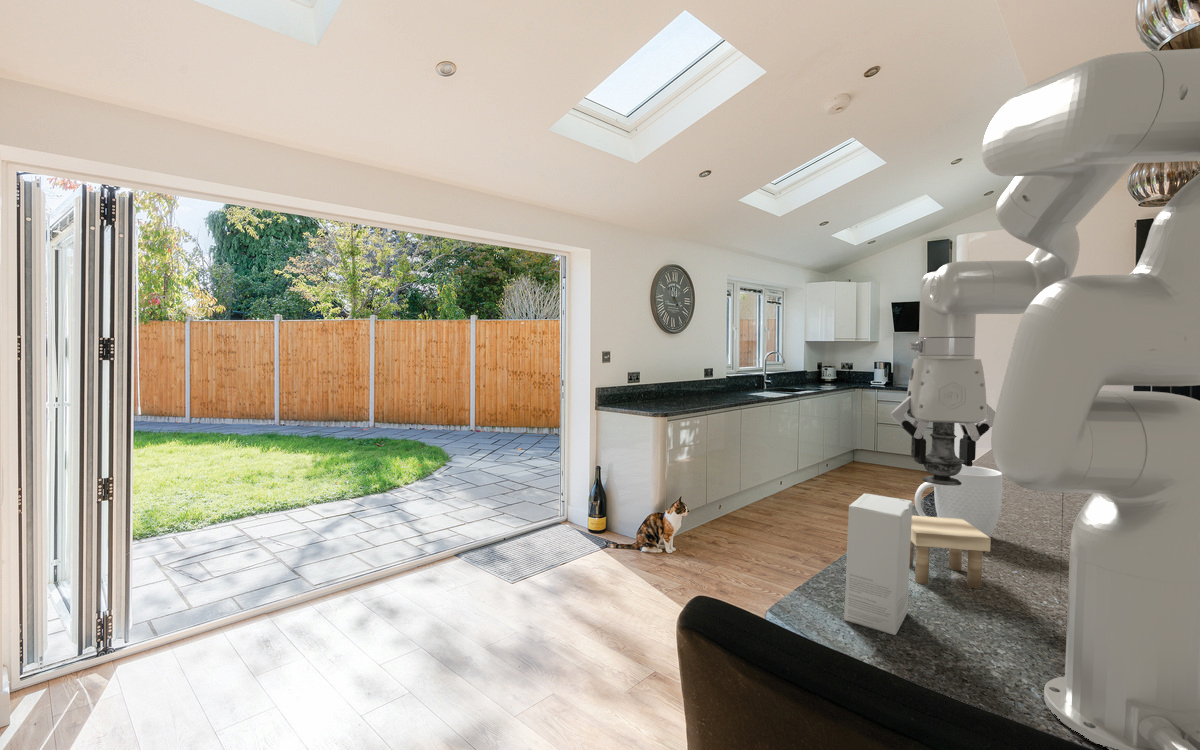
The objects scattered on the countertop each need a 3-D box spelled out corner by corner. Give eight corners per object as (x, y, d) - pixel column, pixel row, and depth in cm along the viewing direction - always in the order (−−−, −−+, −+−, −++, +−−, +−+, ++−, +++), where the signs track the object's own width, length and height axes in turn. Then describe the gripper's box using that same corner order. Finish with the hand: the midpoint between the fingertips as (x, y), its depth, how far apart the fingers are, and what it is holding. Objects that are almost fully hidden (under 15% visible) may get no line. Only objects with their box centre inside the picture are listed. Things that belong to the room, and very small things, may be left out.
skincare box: (859, 599, 79) (862, 491, 78) (912, 614, 75) (915, 499, 74) (842, 621, 72) (845, 503, 72) (898, 638, 68) (902, 513, 67)
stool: (988, 591, 82) (990, 538, 82) (914, 584, 84) (916, 532, 84) (960, 566, 92) (962, 518, 91) (895, 560, 94) (896, 514, 94)
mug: (927, 542, 103) (929, 473, 103) (902, 525, 114) (904, 462, 114) (1013, 547, 101) (1016, 476, 101) (980, 528, 112) (982, 465, 112)
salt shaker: (970, 486, 84) (973, 408, 84) (928, 484, 85) (930, 407, 85) (954, 478, 90) (956, 405, 89) (914, 476, 91) (916, 404, 91)
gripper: (893, 349, 85) (889, 465, 86) (1021, 350, 81) (1016, 471, 82) (880, 349, 92) (877, 456, 93) (996, 350, 88) (992, 462, 89)
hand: (942, 462), depth 87 cm, fingers closed on salt shaker, 5 cm apart
